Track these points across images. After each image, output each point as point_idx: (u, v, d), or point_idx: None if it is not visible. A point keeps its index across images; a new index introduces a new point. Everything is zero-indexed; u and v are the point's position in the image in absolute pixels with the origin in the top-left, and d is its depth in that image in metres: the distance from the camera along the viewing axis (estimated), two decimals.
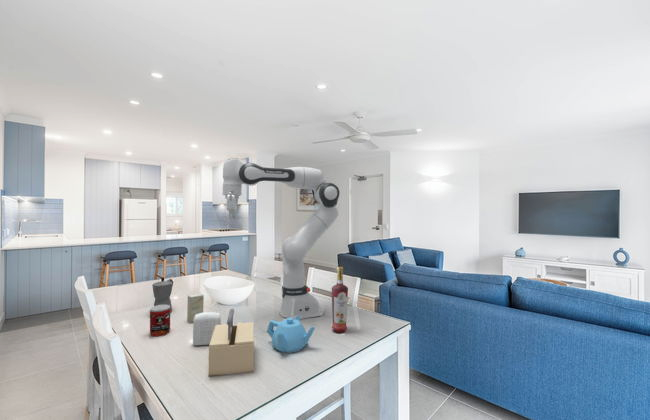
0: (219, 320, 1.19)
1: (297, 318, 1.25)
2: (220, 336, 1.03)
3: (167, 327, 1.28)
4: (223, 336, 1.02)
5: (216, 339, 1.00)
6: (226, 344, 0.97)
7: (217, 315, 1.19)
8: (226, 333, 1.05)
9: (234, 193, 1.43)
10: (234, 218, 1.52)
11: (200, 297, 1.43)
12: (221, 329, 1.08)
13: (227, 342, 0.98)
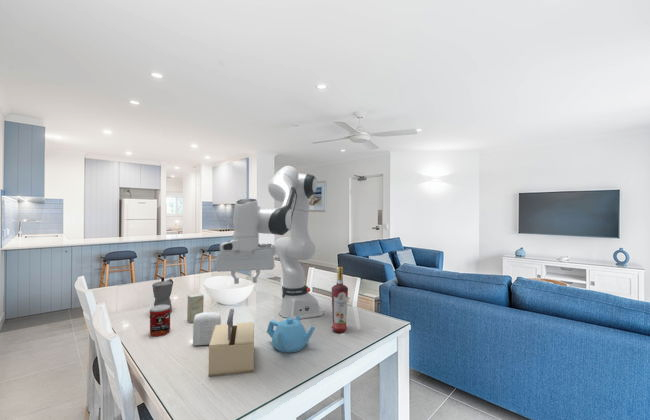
0: (219, 320, 1.19)
1: (297, 318, 1.25)
2: (220, 336, 1.03)
3: (167, 327, 1.28)
4: (223, 336, 1.02)
5: (216, 339, 1.00)
6: (226, 344, 0.97)
7: (217, 315, 1.19)
8: (226, 333, 1.05)
9: None
10: None
11: (200, 297, 1.42)
12: (221, 329, 1.08)
13: (227, 342, 0.98)
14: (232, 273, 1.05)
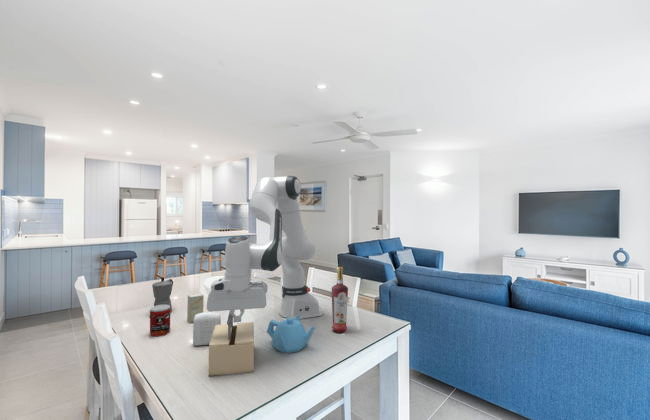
0: (219, 320, 1.19)
1: (297, 318, 1.25)
2: (220, 336, 1.03)
3: (167, 327, 1.28)
4: (223, 336, 1.02)
5: (216, 339, 1.00)
6: (226, 344, 0.97)
7: (217, 315, 1.19)
8: (226, 333, 1.05)
9: None
10: None
11: (200, 297, 1.43)
12: (221, 329, 1.08)
13: (227, 342, 0.98)
14: (231, 312, 1.05)
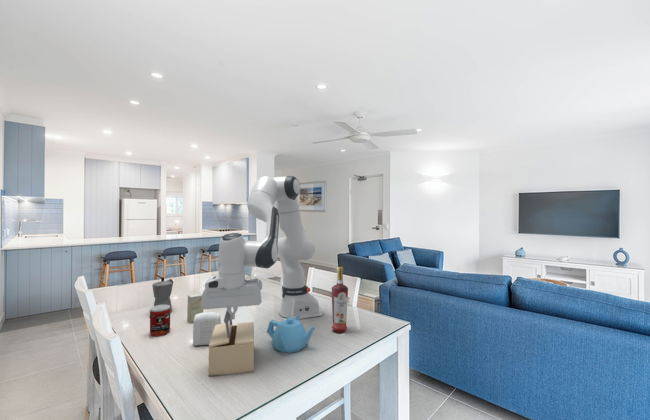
0: (219, 320, 1.19)
1: (297, 318, 1.25)
2: (219, 335, 1.03)
3: (167, 327, 1.28)
4: (223, 334, 1.02)
5: (216, 338, 1.00)
6: (226, 342, 0.97)
7: (217, 315, 1.19)
8: (226, 331, 1.05)
9: None
10: None
11: (200, 297, 1.43)
12: (221, 328, 1.08)
13: (226, 340, 0.98)
14: (228, 309, 1.04)
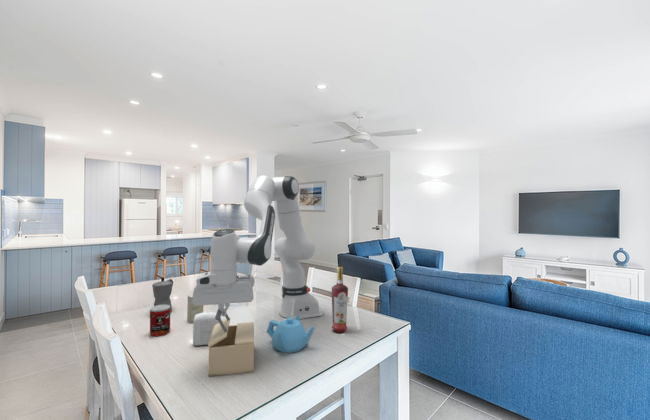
0: None
1: (297, 318, 1.25)
2: (217, 332, 1.03)
3: (167, 327, 1.28)
4: (221, 331, 1.02)
5: (214, 337, 1.00)
6: (223, 337, 0.97)
7: None
8: None
9: None
10: None
11: None
12: (219, 326, 1.08)
13: (224, 335, 0.98)
14: (219, 306, 1.04)
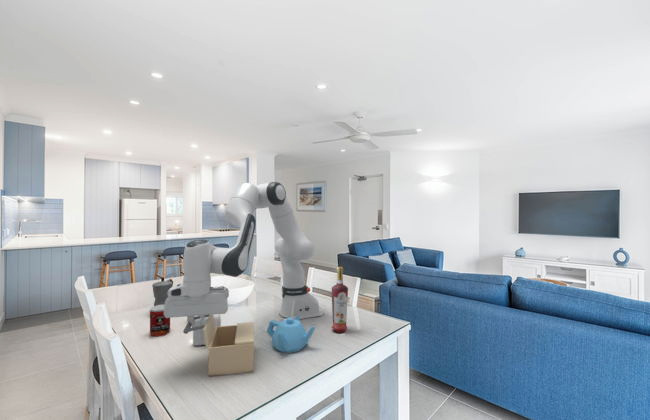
0: (219, 320, 1.19)
1: (297, 318, 1.25)
2: None
3: (167, 327, 1.28)
4: None
5: None
6: (204, 331, 0.96)
7: (217, 315, 1.19)
8: None
9: None
10: None
11: None
12: None
13: None
14: (189, 318, 1.01)
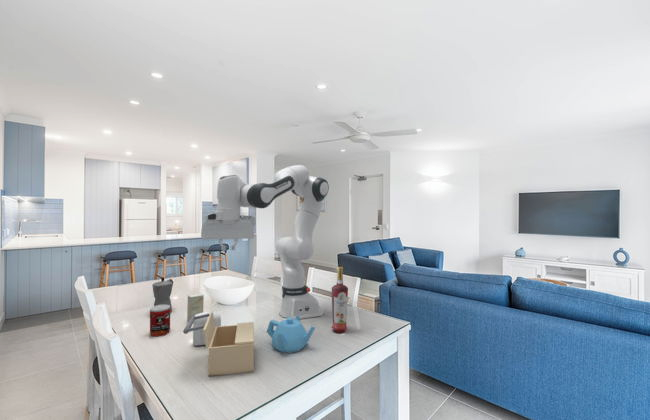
0: (219, 320, 1.19)
1: (297, 318, 1.25)
2: None
3: (167, 327, 1.28)
4: None
5: None
6: (204, 331, 0.96)
7: (217, 315, 1.19)
8: None
9: None
10: None
11: (200, 297, 1.42)
12: None
13: None
14: (219, 241, 1.18)
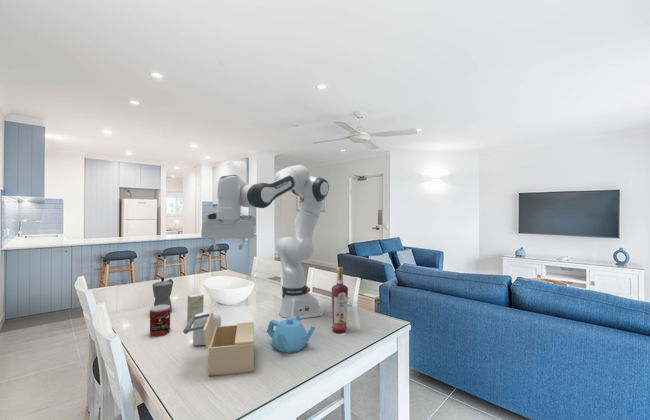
0: (219, 320, 1.19)
1: (297, 318, 1.25)
2: None
3: (167, 327, 1.28)
4: None
5: None
6: (204, 331, 0.96)
7: (217, 315, 1.19)
8: None
9: None
10: None
11: (200, 297, 1.42)
12: None
13: None
14: (212, 240, 1.17)
